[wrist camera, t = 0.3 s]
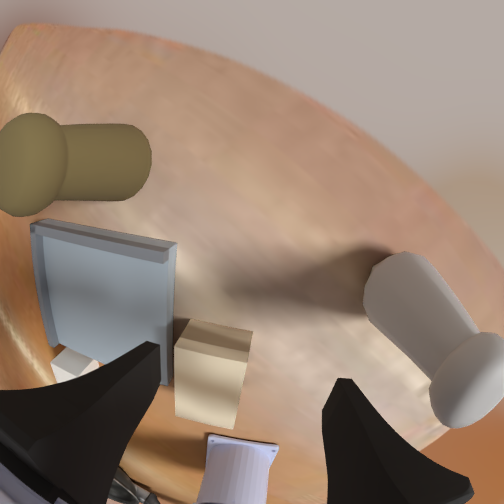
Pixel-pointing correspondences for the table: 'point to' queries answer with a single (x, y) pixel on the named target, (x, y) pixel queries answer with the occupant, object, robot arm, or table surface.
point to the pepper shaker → (68, 163)
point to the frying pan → (129, 491)
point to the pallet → (210, 372)
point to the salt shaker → (437, 337)
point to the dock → (104, 290)
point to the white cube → (72, 365)
